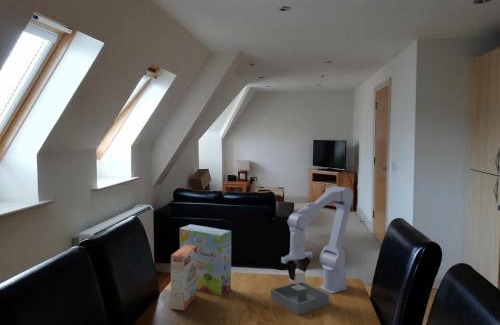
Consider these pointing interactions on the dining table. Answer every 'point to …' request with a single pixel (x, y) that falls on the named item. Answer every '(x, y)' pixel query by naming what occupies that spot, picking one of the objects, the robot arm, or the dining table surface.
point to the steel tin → (298, 294)
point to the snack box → (210, 257)
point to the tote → (313, 302)
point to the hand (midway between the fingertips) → (296, 277)
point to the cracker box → (183, 277)
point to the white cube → (298, 277)
